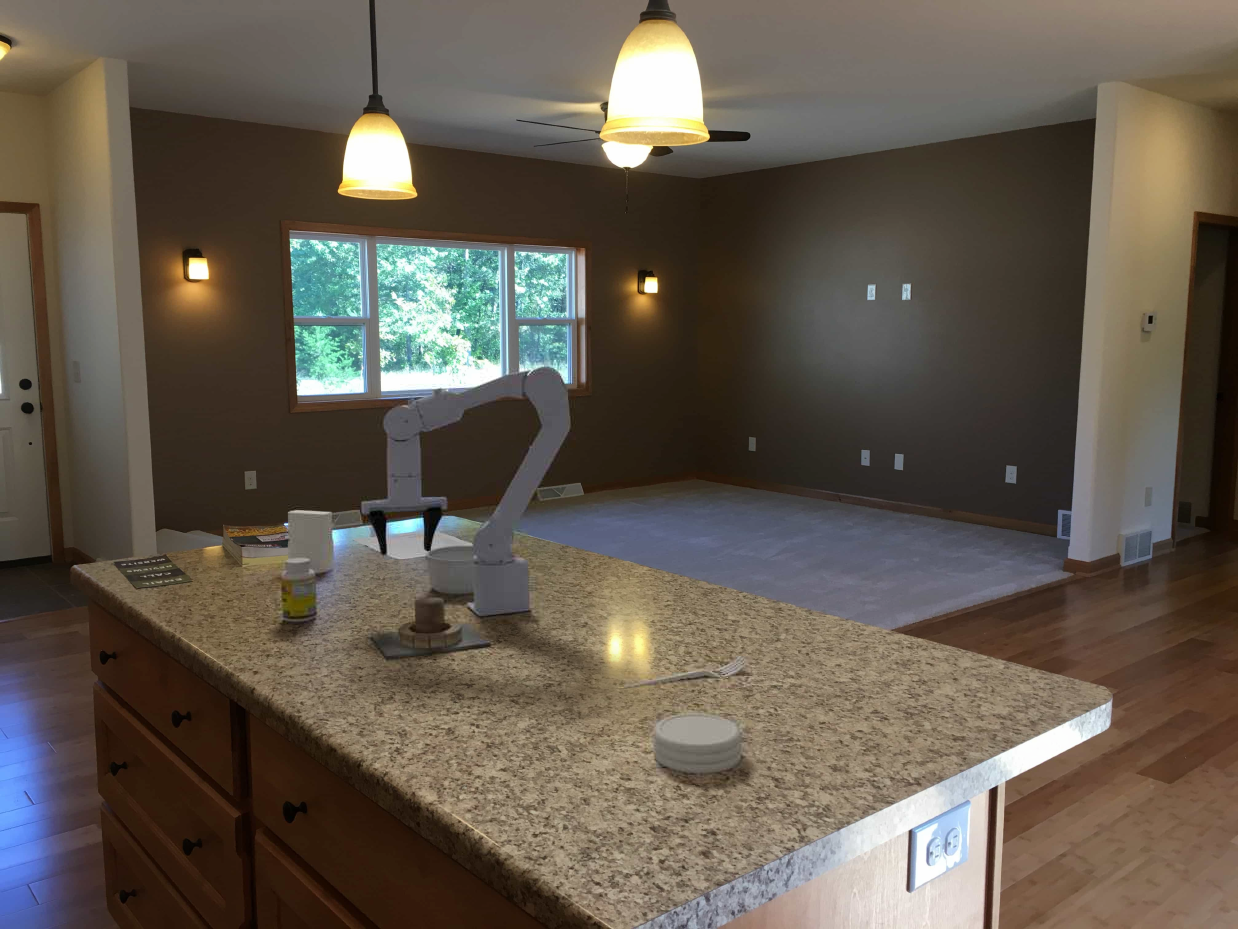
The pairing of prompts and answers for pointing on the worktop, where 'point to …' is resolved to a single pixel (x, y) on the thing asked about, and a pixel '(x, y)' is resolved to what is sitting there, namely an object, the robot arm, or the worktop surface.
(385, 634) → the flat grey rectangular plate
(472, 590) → the ramekin
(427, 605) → the walnut peg
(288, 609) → the supplement bottle
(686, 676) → the fork
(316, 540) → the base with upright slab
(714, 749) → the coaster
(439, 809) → the worktop surface
